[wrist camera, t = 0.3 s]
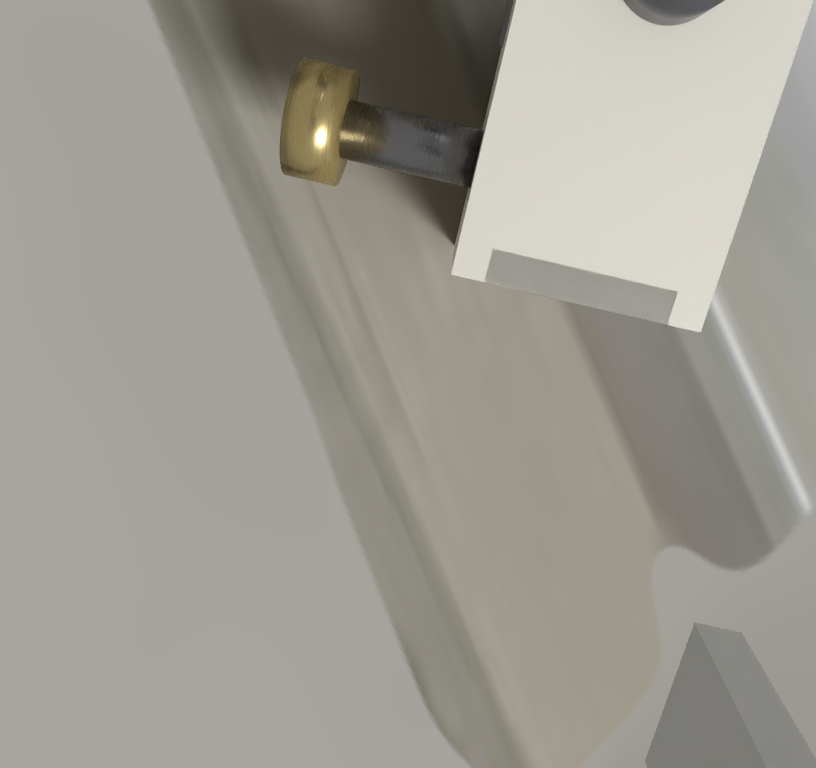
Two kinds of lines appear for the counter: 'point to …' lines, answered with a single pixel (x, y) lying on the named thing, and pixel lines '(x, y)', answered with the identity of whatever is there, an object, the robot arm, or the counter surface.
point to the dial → (670, 10)
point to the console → (623, 151)
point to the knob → (365, 132)
